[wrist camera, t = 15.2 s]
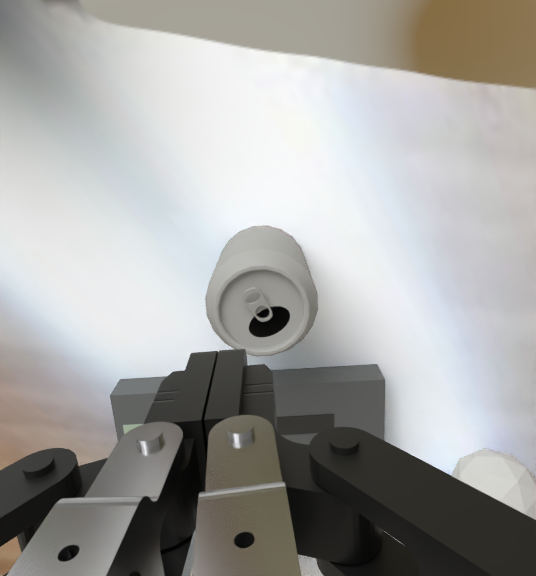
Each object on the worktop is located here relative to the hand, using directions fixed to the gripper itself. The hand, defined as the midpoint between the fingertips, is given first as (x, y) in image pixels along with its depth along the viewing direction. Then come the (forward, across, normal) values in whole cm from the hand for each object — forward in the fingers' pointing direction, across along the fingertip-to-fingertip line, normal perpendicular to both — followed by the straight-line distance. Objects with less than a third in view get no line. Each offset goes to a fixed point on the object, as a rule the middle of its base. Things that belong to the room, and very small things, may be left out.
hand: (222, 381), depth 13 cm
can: (+28, -1, +4) cm, 29 cm away
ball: (+28, -20, +26) cm, 44 cm away
